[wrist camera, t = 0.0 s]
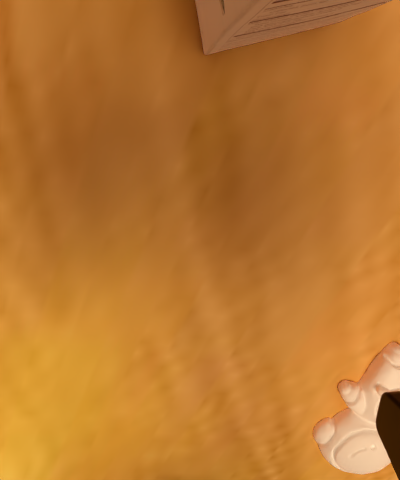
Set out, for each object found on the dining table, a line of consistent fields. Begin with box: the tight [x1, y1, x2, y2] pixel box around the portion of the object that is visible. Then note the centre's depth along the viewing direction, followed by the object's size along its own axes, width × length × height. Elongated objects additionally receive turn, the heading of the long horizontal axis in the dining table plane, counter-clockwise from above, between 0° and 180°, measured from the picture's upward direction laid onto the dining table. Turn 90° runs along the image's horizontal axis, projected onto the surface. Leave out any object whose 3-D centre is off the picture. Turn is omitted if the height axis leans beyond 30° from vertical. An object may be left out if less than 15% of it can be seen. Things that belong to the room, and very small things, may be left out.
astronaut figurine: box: [313, 342, 400, 474], centre depth 27 cm, size 9×12×3 cm
